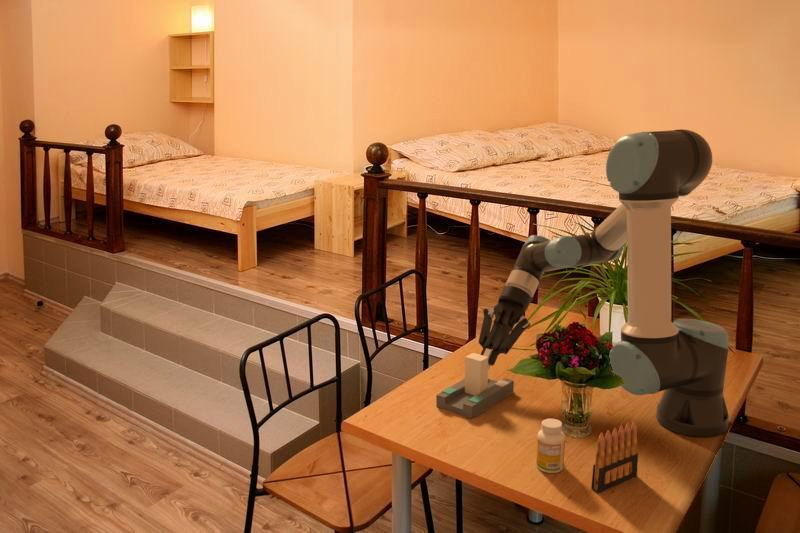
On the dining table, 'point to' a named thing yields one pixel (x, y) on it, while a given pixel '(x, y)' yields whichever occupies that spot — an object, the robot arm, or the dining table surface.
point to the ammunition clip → (615, 458)
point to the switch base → (473, 397)
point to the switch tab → (476, 374)
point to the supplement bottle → (550, 446)
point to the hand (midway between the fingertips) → (480, 374)
